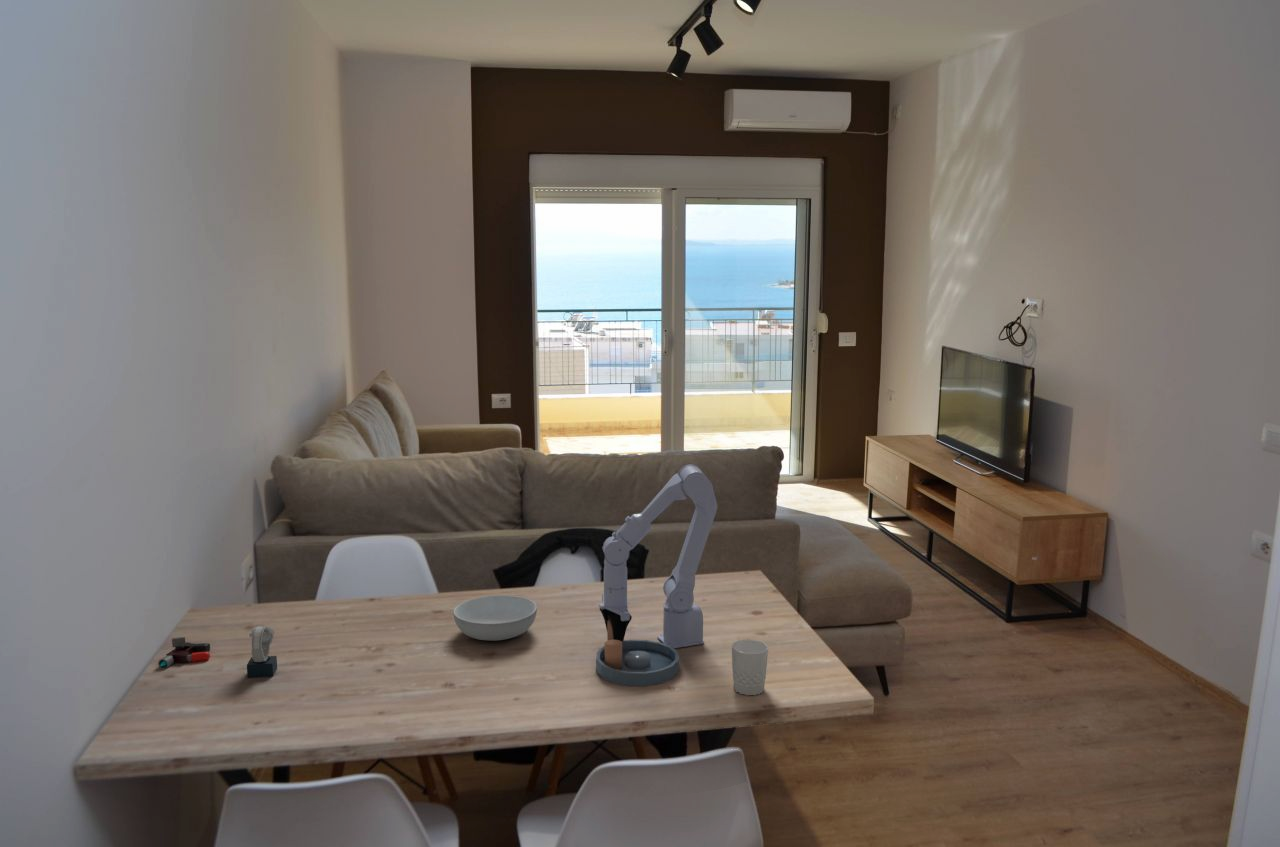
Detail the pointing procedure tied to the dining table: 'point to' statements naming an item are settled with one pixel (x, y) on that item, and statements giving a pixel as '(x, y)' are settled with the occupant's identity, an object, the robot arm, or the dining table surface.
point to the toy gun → (185, 652)
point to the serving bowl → (495, 617)
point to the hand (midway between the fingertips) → (615, 638)
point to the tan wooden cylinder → (613, 654)
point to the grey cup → (749, 666)
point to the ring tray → (641, 663)
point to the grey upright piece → (261, 653)
